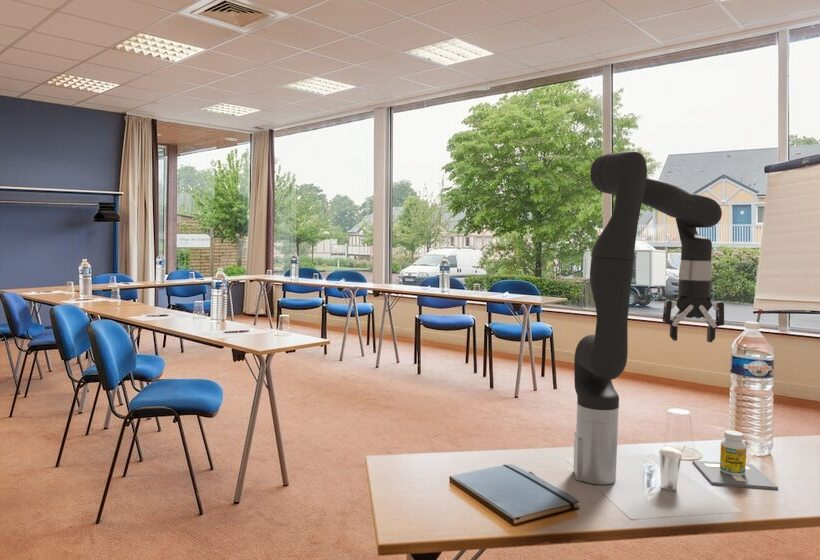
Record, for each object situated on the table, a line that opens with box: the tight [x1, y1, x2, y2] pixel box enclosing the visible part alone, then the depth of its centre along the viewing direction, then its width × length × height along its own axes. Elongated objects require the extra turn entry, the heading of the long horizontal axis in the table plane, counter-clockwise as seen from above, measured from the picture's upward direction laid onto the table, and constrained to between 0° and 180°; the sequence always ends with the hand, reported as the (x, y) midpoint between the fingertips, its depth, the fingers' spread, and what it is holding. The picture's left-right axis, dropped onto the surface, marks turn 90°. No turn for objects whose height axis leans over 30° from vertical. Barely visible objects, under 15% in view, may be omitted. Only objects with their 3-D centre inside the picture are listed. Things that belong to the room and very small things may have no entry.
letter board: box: [692, 459, 779, 491], centre depth 142 cm, size 14×14×1 cm
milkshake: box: [658, 445, 686, 492], centre depth 133 cm, size 4×5×10 cm
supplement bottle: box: [719, 429, 747, 476], centre depth 142 cm, size 5×5×10 cm
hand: (692, 341), depth 153 cm, fingers open, 8 cm apart
